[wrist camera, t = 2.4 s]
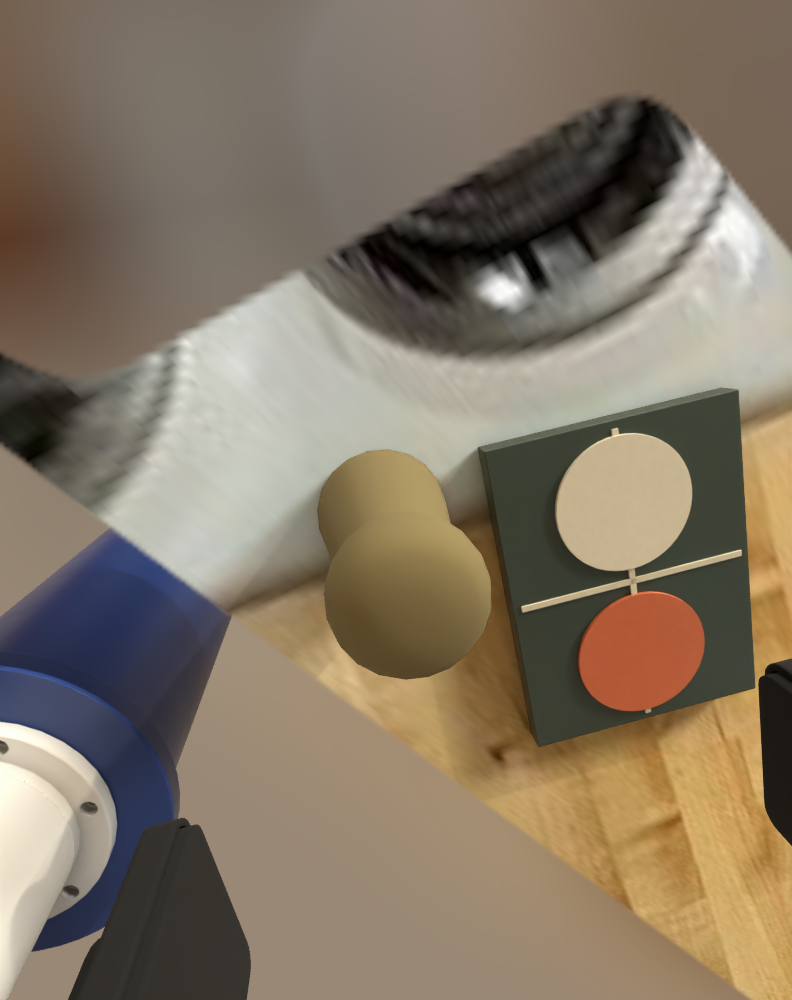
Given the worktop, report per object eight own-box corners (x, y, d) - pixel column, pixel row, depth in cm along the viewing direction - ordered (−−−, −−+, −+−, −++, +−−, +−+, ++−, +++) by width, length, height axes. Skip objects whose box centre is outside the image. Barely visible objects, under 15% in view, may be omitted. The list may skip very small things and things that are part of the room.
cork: (313, 570, 27) (302, 711, 17) (321, 444, 26) (314, 510, 15) (438, 576, 28) (503, 714, 17) (453, 454, 27) (534, 524, 16)
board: (530, 732, 31) (539, 750, 30) (477, 447, 27) (485, 452, 25) (740, 676, 32) (758, 690, 30) (721, 387, 27) (742, 389, 26)
